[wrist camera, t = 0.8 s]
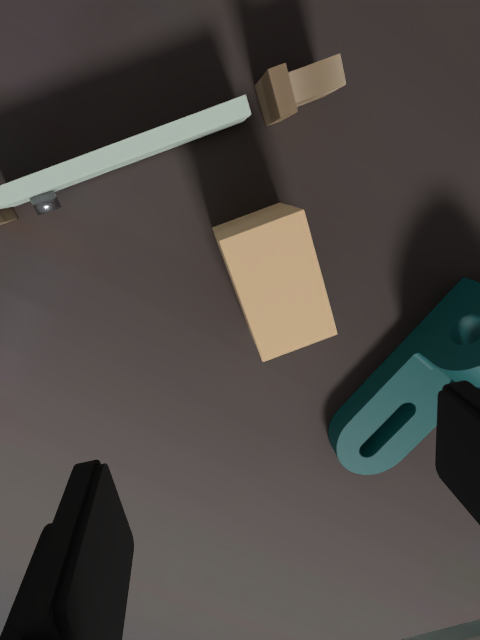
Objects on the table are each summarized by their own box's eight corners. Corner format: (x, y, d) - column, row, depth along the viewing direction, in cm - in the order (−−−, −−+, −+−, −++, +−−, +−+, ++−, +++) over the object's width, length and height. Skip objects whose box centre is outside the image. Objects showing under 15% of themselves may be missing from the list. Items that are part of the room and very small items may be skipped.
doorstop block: (279, 202, 27) (303, 209, 22) (309, 304, 30) (337, 334, 25) (211, 227, 27) (218, 241, 22) (248, 327, 30) (262, 362, 25)
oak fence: (314, 63, 24) (339, 42, 21) (324, 104, 25) (349, 92, 21) (-64, 203, 24) (-111, 209, 20) (-41, 240, 25) (-82, 252, 21)
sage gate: (237, 105, 24) (245, 94, 21) (247, 138, 25) (257, 133, 22) (7, 190, 24) (-20, 192, 21) (24, 221, 25) (0, 228, 22)
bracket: (461, 276, 31) (547, 307, 24) (509, 323, 33) (600, 365, 26) (312, 435, 35) (346, 505, 27) (363, 468, 37) (407, 541, 29)
